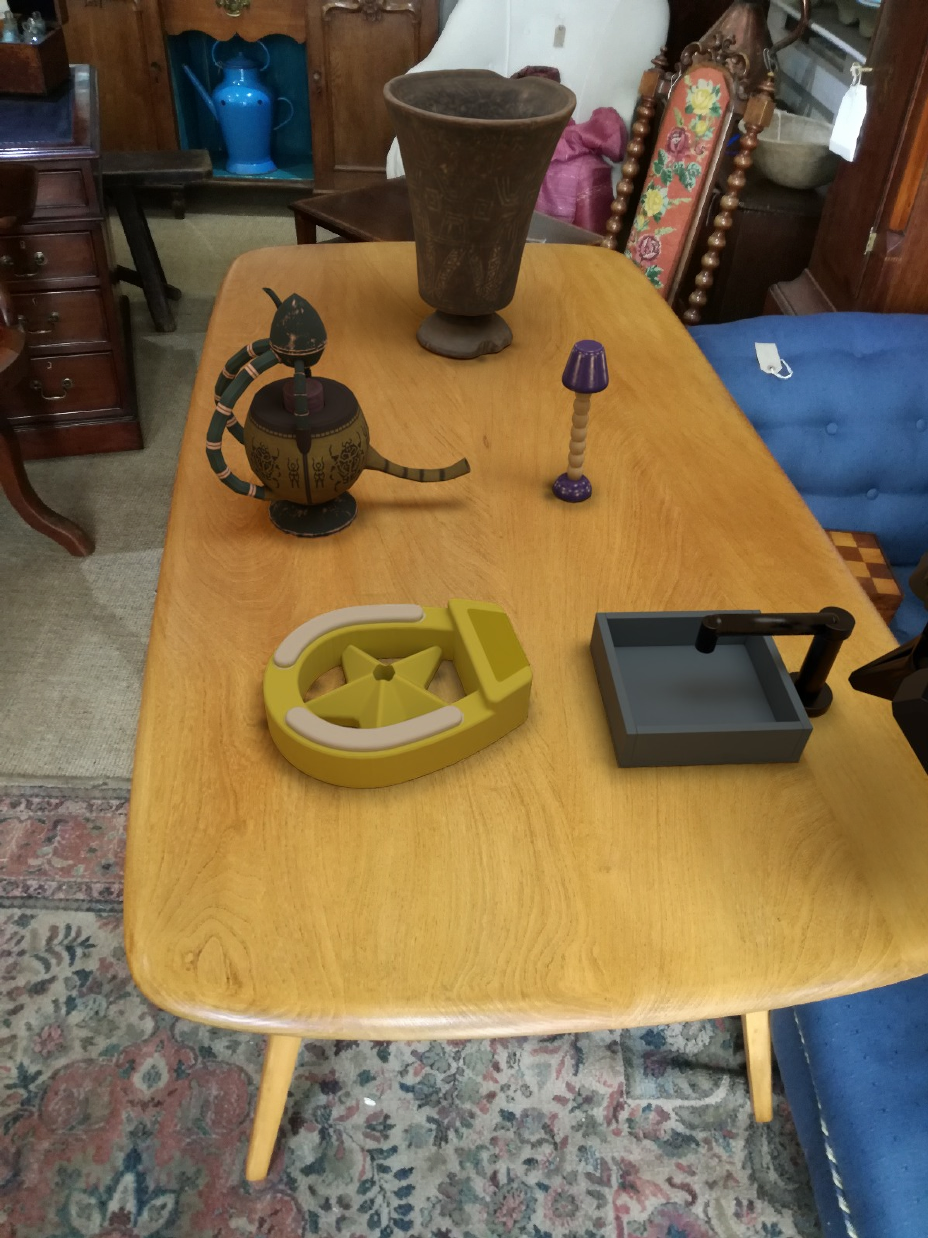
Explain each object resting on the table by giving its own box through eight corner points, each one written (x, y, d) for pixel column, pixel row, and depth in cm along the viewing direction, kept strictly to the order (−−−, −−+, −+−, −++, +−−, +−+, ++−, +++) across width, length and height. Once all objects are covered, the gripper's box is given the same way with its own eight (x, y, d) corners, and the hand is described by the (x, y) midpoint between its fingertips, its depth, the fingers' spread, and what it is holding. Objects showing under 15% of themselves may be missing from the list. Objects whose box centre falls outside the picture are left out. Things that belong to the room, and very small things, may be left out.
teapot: (229, 480, 99) (195, 264, 84) (462, 473, 102) (472, 263, 86) (220, 551, 91) (180, 325, 75) (475, 542, 93) (488, 321, 77)
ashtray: (545, 753, 74) (552, 711, 70) (282, 807, 69) (276, 765, 66) (484, 616, 85) (487, 574, 82) (255, 654, 81) (248, 612, 77)
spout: (836, 633, 76) (849, 603, 74) (848, 657, 74) (862, 627, 72) (690, 635, 75) (699, 604, 73) (699, 659, 73) (708, 629, 71)
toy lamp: (541, 493, 100) (558, 348, 89) (558, 472, 103) (577, 329, 92) (582, 506, 98) (605, 361, 87) (598, 485, 102) (622, 342, 90)
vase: (352, 336, 125) (342, 84, 104) (461, 290, 137) (471, 56, 116) (475, 396, 114) (490, 130, 94) (580, 341, 126) (614, 94, 106)
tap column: (829, 685, 81) (859, 619, 75) (829, 722, 78) (860, 656, 72) (777, 674, 81) (803, 608, 76) (775, 710, 78) (802, 644, 73)
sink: (748, 642, 84) (760, 609, 81) (798, 762, 74) (813, 728, 72) (589, 646, 83) (595, 612, 80) (618, 767, 73) (627, 734, 70)
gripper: (1062, 457, 60) (843, 529, 72) (993, 609, 49) (746, 664, 61) (1133, 598, 63) (908, 645, 75) (1082, 775, 51) (827, 797, 63)
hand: (851, 681), depth 68 cm, fingers closed
